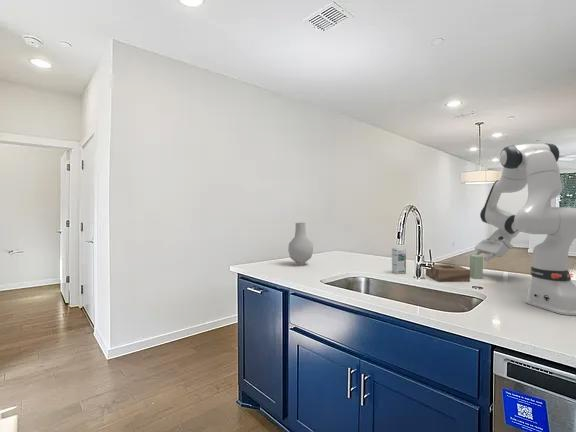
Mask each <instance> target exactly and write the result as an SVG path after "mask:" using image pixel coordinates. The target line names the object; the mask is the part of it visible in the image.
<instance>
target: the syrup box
mask: <svg viewBox="0 0 576 432" xmlns="http://www.w3.org/2000/svg"><path fill="white" fill-rule="evenodd" d="M406 250H407V249H406V248H405V247H404V248H403V247H393V248H391V272H392V273H393V274H396V275H400V274H406V273H407V265H406V264H407V259H406V258H407V255H406V253H407V251H406Z"/></svg>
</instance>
